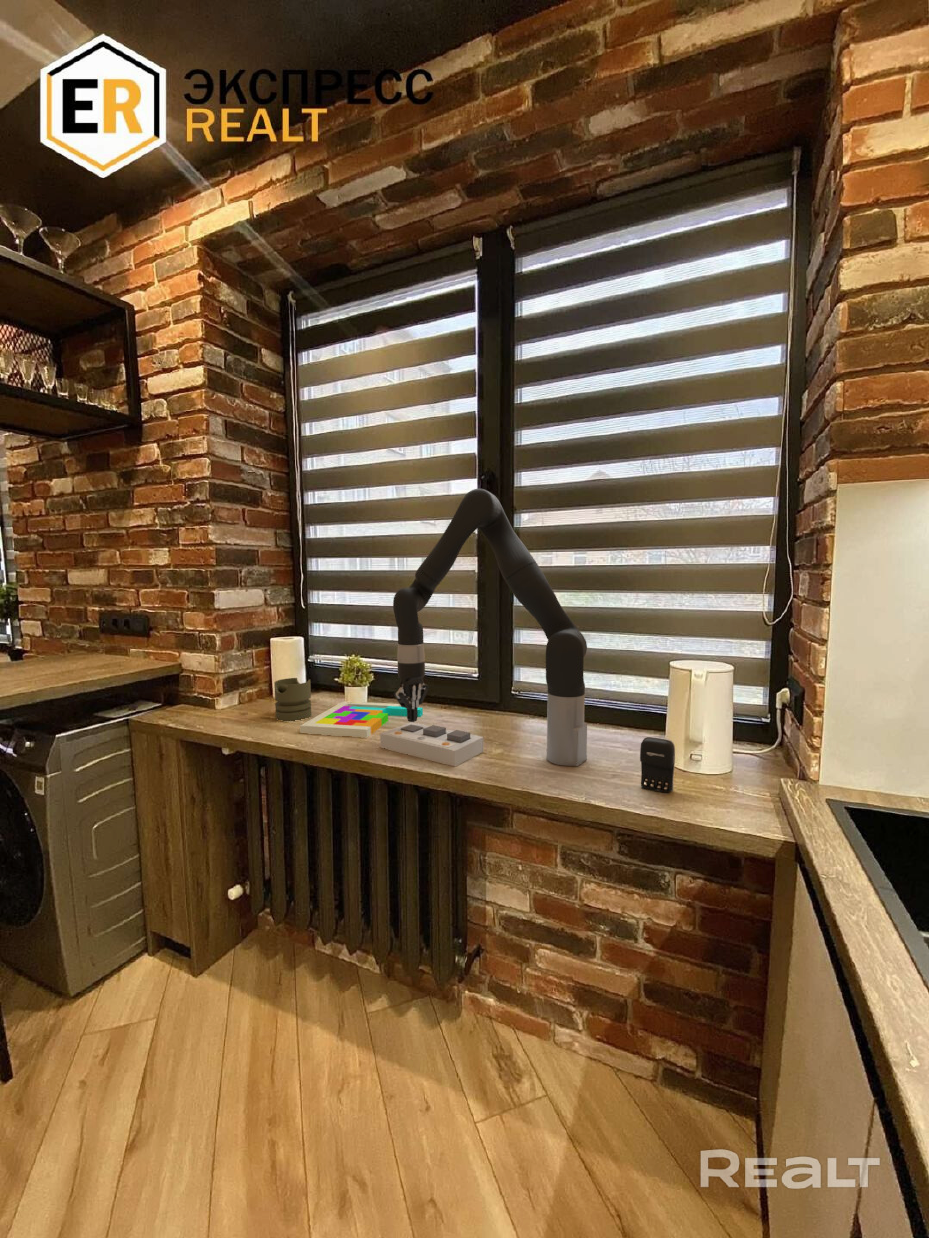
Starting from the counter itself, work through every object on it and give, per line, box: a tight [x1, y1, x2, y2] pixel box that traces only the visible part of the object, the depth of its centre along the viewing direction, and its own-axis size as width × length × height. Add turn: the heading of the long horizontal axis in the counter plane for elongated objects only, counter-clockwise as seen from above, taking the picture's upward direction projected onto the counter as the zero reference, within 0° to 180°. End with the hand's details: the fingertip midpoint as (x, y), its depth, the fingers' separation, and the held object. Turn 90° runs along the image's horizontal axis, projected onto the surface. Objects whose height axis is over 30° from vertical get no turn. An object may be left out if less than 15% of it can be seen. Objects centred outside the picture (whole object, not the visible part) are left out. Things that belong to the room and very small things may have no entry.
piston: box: [273, 677, 312, 722], centre depth 173 cm, size 11×12×11 cm
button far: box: [401, 725, 423, 732], centre depth 146 cm, size 4×4×3 cm
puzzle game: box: [299, 700, 424, 739], centre depth 167 cm, size 30×3×30 cm
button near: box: [447, 729, 471, 743], centre depth 137 cm, size 4×4×3 cm
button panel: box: [379, 722, 484, 767], centre depth 141 cm, size 25×13×4 cm, turn 56°
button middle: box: [423, 724, 447, 738], centre depth 142 cm, size 4×4×3 cm
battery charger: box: [639, 735, 676, 794], centre depth 114 cm, size 7×4×11 cm, turn 58°
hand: (412, 721), depth 146 cm, fingers closed
